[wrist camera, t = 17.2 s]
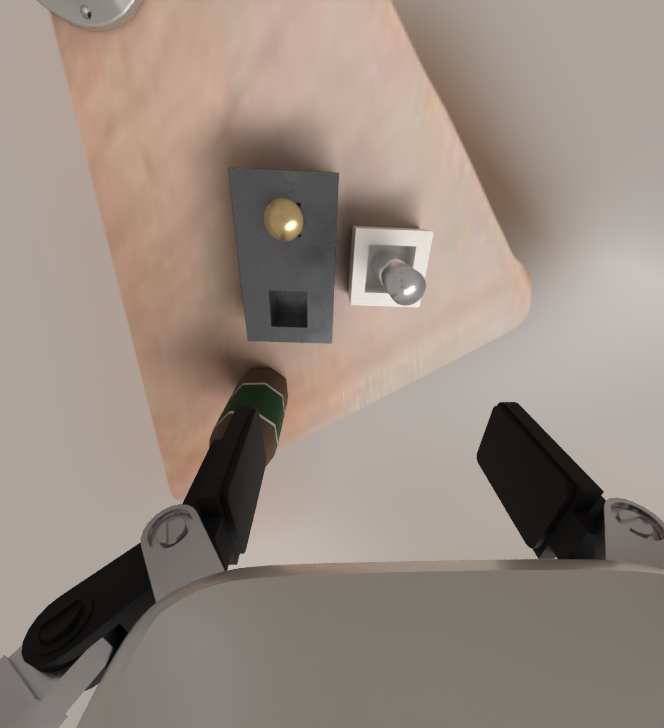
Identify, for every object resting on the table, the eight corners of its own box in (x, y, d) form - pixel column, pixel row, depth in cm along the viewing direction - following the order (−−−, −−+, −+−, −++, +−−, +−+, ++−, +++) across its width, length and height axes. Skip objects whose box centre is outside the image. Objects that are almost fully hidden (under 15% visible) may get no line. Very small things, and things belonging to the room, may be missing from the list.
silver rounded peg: (372, 250, 33) (392, 268, 23) (397, 251, 33) (428, 270, 23) (370, 276, 35) (387, 305, 24) (394, 277, 35) (421, 306, 24)
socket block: (245, 175, 30) (227, 167, 25) (337, 179, 31) (338, 172, 25) (259, 323, 39) (247, 340, 33) (331, 325, 39) (331, 343, 34)
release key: (274, 199, 31) (262, 196, 25) (307, 200, 31) (302, 198, 25) (276, 235, 32) (265, 240, 27) (307, 236, 33) (303, 242, 27)
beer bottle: (274, 357, 41) (216, 510, 20) (298, 397, 45) (270, 563, 24) (229, 376, 43) (132, 536, 22) (256, 413, 46) (194, 582, 25)
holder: (352, 225, 33) (355, 228, 29) (419, 228, 33) (433, 231, 29) (348, 293, 37) (350, 304, 32) (408, 295, 37) (419, 307, 33)
